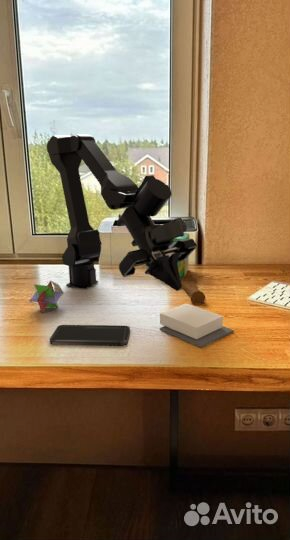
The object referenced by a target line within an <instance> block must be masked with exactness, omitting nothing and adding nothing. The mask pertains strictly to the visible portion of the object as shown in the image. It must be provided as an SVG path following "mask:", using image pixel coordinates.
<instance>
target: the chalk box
mask: <svg viewBox="0 0 290 540" xmlns="http://www.w3.org/2000/svg"><path fill="white" fill-rule="evenodd" d="M187 238H190V234H189V233H185V232H184V236H182V237H181V236H180V237H177V238H175V239H172V240H173V241H174V242H173V243H172V245H169V249H170V248H172V247H173V246H174V245H175V244H176V243H177V241H178V240H183V239H187ZM189 256H190V255H189ZM189 256H188V257H187V258H186V259H185V260H183V261H180V262H178V271H179V275H180V279H185V277H186V275H187V273H188V270H189Z"/></svg>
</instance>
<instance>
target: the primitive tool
mask: <svg viewBox="0 0 290 540" xmlns="http://www.w3.org/2000/svg"><path fill="white" fill-rule="evenodd" d="M180 280H181V285H182V289H183V290H184V291H185V292H186V293H187V295H189V297H190V302H191V303H192V304H193V305H201V304H203V303H204V302H205V300H206V295H205V293H204V292H203V291H201V290H200V289H199V288H198V286H197V284H196V283H197V282H198V281H197V280H196V278H193V277H188V278H180Z"/></svg>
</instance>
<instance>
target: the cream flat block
mask: <svg viewBox="0 0 290 540" xmlns="http://www.w3.org/2000/svg"><path fill="white" fill-rule="evenodd" d="M223 319H224V316H223V315H221V314H217V313H215V312H211V311H209V310H206V309H204V308H201V307H198V306H196V305H192V304H190V303H188V302H187V303H183V304H180V305H178V306H174V307H172V308H170V309H167V310H165V311H162V312H159V324H160V325H162V327H164V326H166V327H168V328H171V329H173V330H175V331H178V332H180V333H182V334H185V335H187V336H189V337H192V338H194V339H199V338H201V337H203V336H205V335H207V334H209V333H211V332H213V331H215V330H217V329H220V328H222V326H224V325H223V321H224V320H223Z"/></svg>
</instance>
